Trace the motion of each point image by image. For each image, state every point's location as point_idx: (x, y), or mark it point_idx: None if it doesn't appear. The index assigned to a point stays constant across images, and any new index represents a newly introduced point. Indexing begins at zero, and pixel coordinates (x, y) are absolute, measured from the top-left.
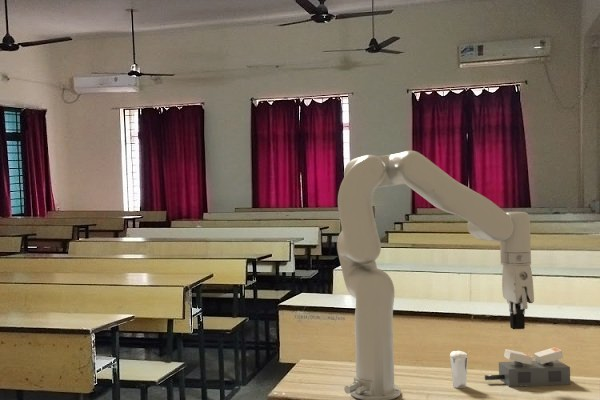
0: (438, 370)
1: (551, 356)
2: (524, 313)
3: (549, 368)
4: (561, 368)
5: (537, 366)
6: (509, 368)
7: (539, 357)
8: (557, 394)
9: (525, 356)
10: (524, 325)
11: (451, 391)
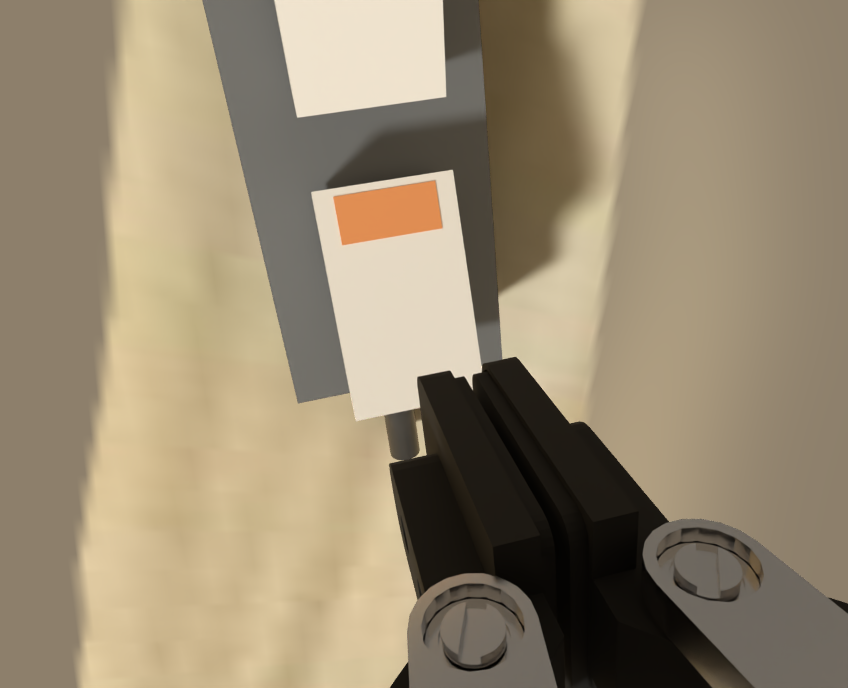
0: (144, 648)
1: None
2: (722, 529)
3: (477, 12)
4: None
5: (430, 116)
6: (481, 353)
7: (436, 94)
8: (633, 40)
9: (460, 246)
10: (532, 377)
11: None
